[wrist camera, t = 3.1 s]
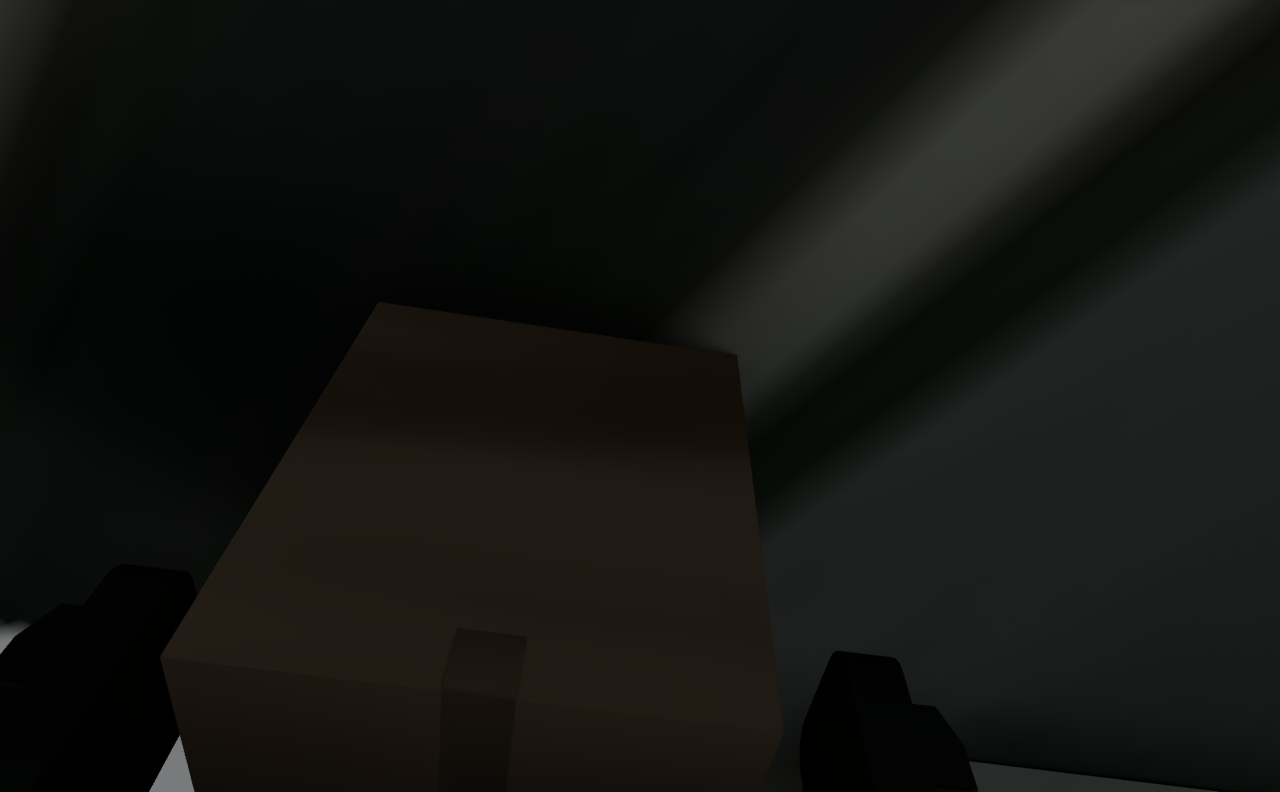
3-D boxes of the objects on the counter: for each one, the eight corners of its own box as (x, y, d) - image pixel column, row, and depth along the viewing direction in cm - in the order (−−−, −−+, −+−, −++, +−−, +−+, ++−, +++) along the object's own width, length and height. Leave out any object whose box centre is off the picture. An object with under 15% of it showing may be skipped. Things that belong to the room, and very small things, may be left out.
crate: (375, 296, 12) (151, 652, 7) (740, 351, 12) (792, 729, 7) (382, 560, 14) (229, 948, 9) (677, 599, 15) (679, 993, 10)
